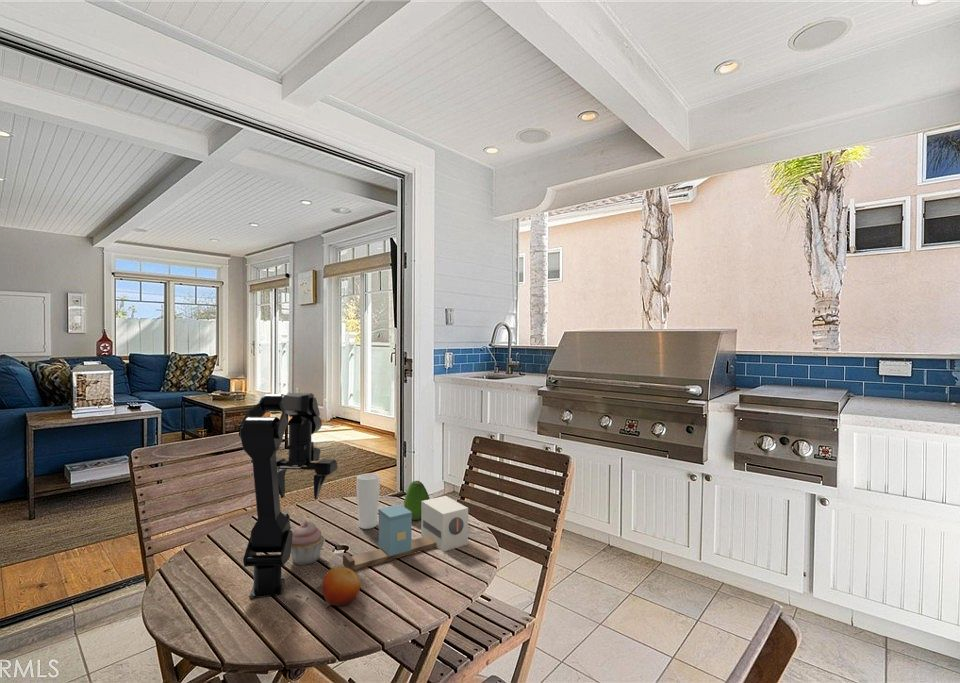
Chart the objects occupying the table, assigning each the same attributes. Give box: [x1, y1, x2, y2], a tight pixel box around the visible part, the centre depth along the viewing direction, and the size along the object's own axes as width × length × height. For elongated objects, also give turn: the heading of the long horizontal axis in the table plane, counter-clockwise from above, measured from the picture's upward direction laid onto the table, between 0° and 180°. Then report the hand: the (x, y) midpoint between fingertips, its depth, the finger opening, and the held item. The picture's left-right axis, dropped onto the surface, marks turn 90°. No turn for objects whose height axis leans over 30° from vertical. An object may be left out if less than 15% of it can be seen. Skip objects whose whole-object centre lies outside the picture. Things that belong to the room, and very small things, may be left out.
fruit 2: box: [403, 480, 431, 521], centre depth 149 cm, size 8×8×12 cm
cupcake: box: [290, 520, 326, 566], centre depth 121 cm, size 9×9×10 cm
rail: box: [342, 536, 437, 571], centre depth 124 cm, size 24×5×2 cm, turn 125°
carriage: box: [377, 503, 412, 556], centre depth 125 cm, size 6×7×10 cm
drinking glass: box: [355, 472, 381, 530], centre depth 143 cm, size 7×7×15 cm
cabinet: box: [420, 495, 469, 553], centre depth 133 cm, size 8×13×10 cm, turn 35°
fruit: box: [321, 566, 362, 610], centre depth 102 cm, size 8×8×8 cm
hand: (299, 498), depth 128 cm, fingers open, 9 cm apart
